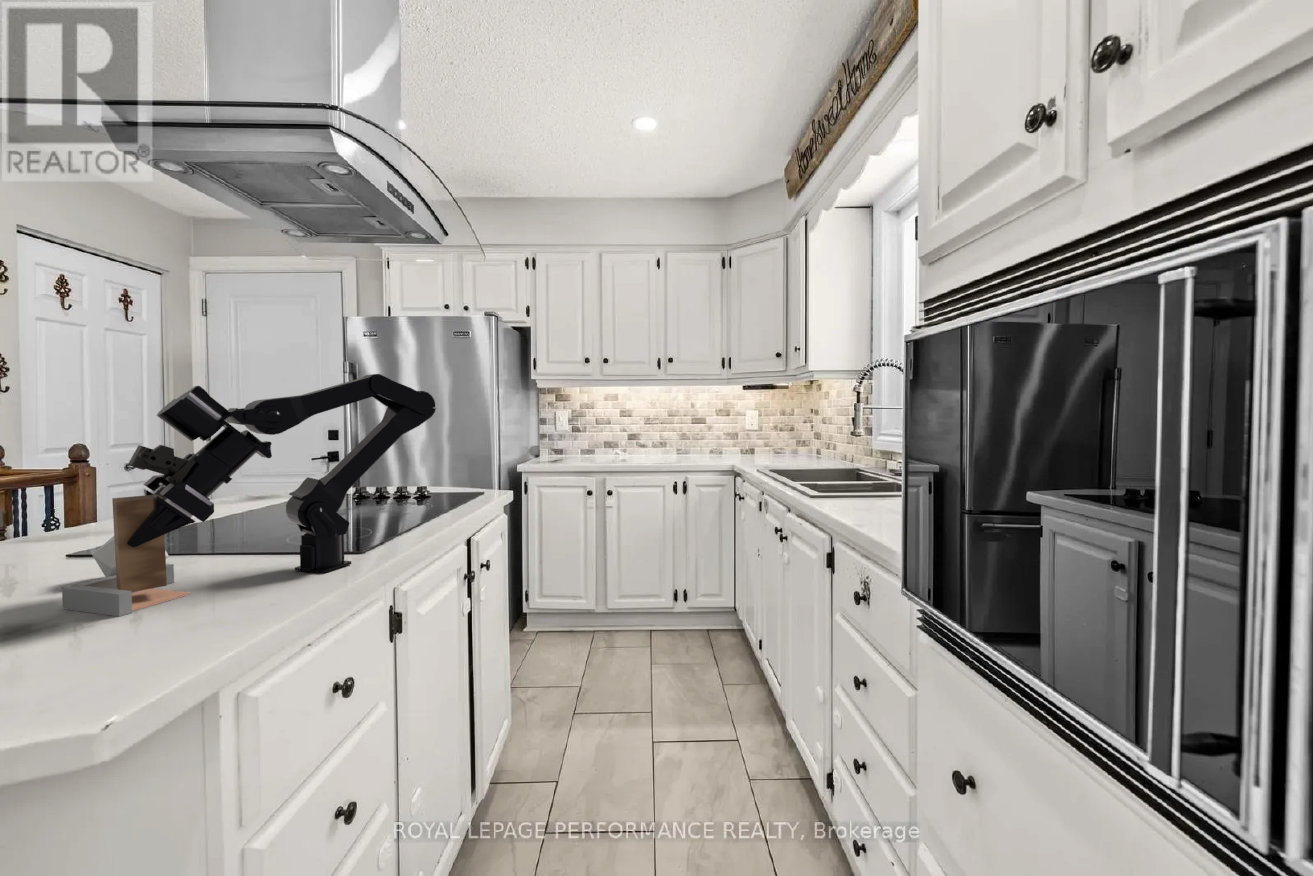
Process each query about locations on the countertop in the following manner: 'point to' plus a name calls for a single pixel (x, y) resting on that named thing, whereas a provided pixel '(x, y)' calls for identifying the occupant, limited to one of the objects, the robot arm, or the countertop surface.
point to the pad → (153, 597)
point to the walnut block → (141, 562)
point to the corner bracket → (103, 596)
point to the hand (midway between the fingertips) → (127, 542)
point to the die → (108, 558)
